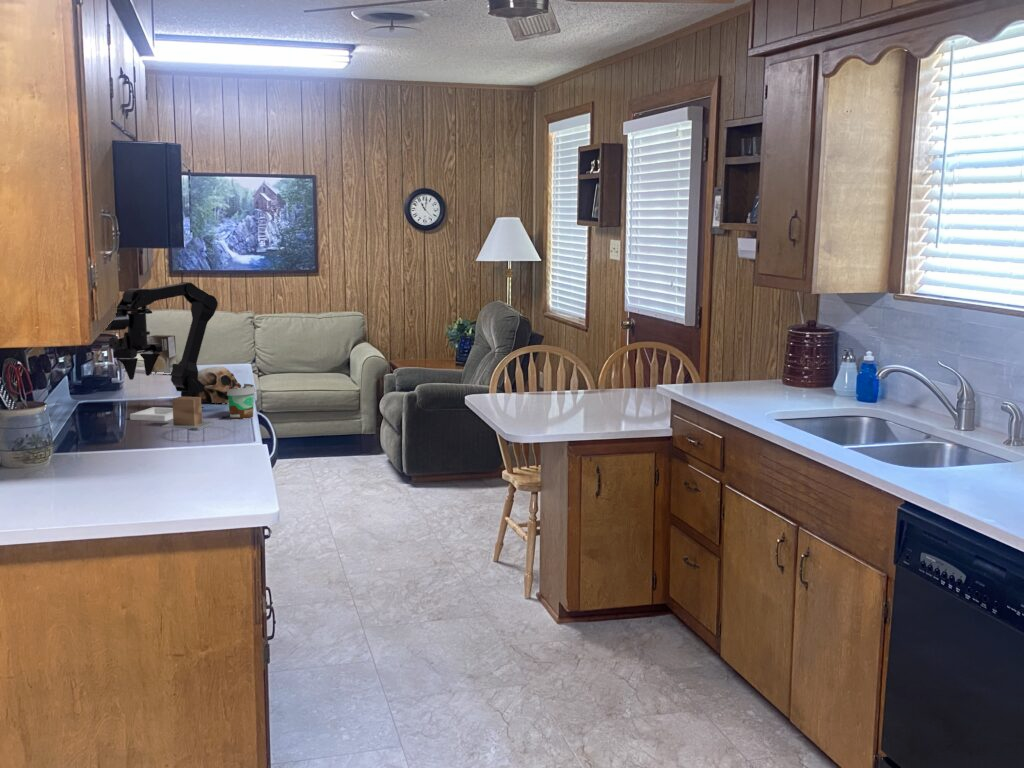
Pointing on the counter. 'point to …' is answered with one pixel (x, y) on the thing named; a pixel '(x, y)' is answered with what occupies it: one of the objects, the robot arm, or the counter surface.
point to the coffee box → (164, 353)
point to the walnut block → (187, 411)
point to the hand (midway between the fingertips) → (139, 377)
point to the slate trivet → (196, 427)
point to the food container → (241, 401)
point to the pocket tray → (153, 414)
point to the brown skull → (216, 384)
